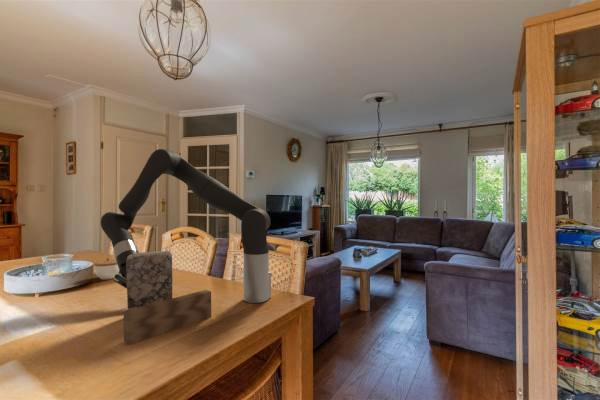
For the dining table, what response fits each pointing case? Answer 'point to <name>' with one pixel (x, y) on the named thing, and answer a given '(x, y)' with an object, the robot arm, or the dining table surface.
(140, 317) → the stop bar
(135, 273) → the stone block
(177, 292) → the dining table surface
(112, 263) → the lidded jar
